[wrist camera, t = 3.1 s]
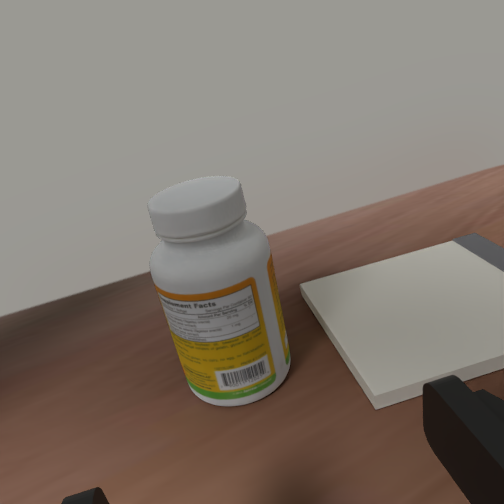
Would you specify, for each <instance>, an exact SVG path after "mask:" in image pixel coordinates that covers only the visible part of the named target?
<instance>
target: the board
mask: <svg viewBox="0 0 504 504" xmlns="http://www.w3.org/2000/svg"><path fill="white" fill-rule="evenodd" d="M300 289H301V295H302V297H303V298H304V300H305V301H306V303H307V304H308V306H309V307H310V309H311V310H312V312H313V314H314V315H315V317H316V318H317V320H318V321H319V323H320V324H321V326H322V327H323V329H324V331H325V332H326V334H327V335H328V337H329V338H330V340H331V341H332V343H333V344H334V346H335V348H336V349H337V351H338V352H339V354H340V355H341V357H342V358H343V360H344V362H345V363H346V365H347V366H348V368H349V369H350V371H351V372H352V374H353V375H354V377H355V379H356V380H357V382H358V383H359V385H360V386H361V388H362V389H363V391H364V392H365V394H366V396H367V397H368V399H369V400H370V402H371V403H372V405H373V406H374V408H375V409H376V410H377V409H380V408H383V407H386V406H389V405H392V404H395V403H398V402H402V401H405V400H408V399H411V398H414V397H417V396H420V395H423V385H424V384H425V383H428V382H431V381H434V380H437V379H440V378H443V377H446V376H449V375H455V376H457V377H458V378H460V379H461V380H462V381H466V380H469V379H472V378H475V377H478V376H481V375H484V374H488V373H491V372H494V371H497V370H500V369H503V368H504V248H502V247H500V246H498V245H496V244H495V243H493V242H491V241H489V240H487V239H485V238H484V237H482V236H480V235H478V234H476V233H473V234H469V235H466V236H462V237H459V238H455V239H453V241H449V242H446V243H442V244H439V245H435V246H432V247H428V248H425V249H421V250H418V251H414V252H411V253H407V254H404V255H400V256H397V257H393V258H390V259H386V260H383V261H379V262H376V263H372V264H369V265H365V266H361V267H358V268H354V269H351V270H347V271H344V272H340V273H337V274H333V275H330V276H326V277H323V278H319V279H316V280H312V281H309V282H305V283H302V284H300Z"/></svg>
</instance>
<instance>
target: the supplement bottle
mask: <svg viewBox="0 0 504 504" xmlns="http://www.w3.org/2000/svg"><path fill="white" fill-rule="evenodd" d="M148 211H149V214H150V218H151V221H152V224H153V228H154V231H155V233H156V235H157V237H158V238H159V239H161V240H162V241H161V242H160V243H159V244H158V245H157V246H156V248H155V249H154V251H153V253H152V255H151V258H150V272H151V275H152V279H153V282H154V285H155V288H156V291H157V294H158V297H159V300H160V302H161V305H162V308H163V311H164V314H165V317H166V320H167V323H168V326H169V329H170V332H171V335H172V338H173V341H174V344H175V347H176V350H177V353H178V356H179V359H180V362H181V365H182V368H183V371H184V374H185V377H186V379H187V382H188V384H189V386H190V388H191V390H192V391H193V393H194V394H195V395H196V396H197V397H199V398H200V399H202V400H203V401H205V402H207V403H210V404H213V405H217V406H239V405H245V404H249V403H252V402H255V401H257V400H260V399H262V398H264V397H265V396H267V395H269V394H270V393H272V392H273V391H274V390H275V389H276V388H277V387H278V386H279V385H280V384H281V383H282V382H283V380H284V379H285V377H286V375H287V373H288V371H289V367H290V360H291V357H290V350H289V344H288V339H287V334H286V329H285V324H284V319H283V314H282V309H281V304H280V298H279V293H278V288H277V282H276V277H275V271H274V266H273V261H272V255H271V250H270V247H269V243H268V239H267V237H266V235H265V233H264V232H263V230H262V229H261V228H260V227H259V226H257V225H256V224H254V223H252V222H249V221H247V220H244V218H245V217H246V213H247V212H246V203H245V200H244V196H243V191H242V188H241V184H240V181H239V180H237V179H236V178H233V177H228V176H212V177H203V178H198V179H192V180H188V181H185V182H182V183H179V184H176V185H173V186H171V187H169V188H166V189H164V190H162V191H160V192H159V193H157V194H156V195H154V196H153V197H152V198H151V199H150V200H149V202H148Z"/></svg>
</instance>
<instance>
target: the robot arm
mask: <svg viewBox="0 0 504 504" xmlns="http://www.w3.org/2000/svg"><path fill="white" fill-rule="evenodd" d="M423 427H424V432H425V435H426V438H427V440H428V443H429V445H430V447H431V448H432V450H433V452H434V453H435V455H436V456H437V457H438V459H439V460H440V461H441V463H442V464H443V466H444V467H445V468H446V470H447V471H448V473H449V474H450V475H451V477H452V478H453V480H454V481H455V482H456V484H457V485H458V486H459V488H460V489H461V491H462V492H463V493H464V495H465V496H466V498H467V499H468V500H469V502H470V503H471V504H504V401H503V400H502V399H500V398H498V397H496V396H494V395H492V394H491V393H489V392H487V391H485V390H483V389H482V390H479V391H476V392H472V391H471V390H470V389H469V388H468V387H467V386H466V384H465V383H464V382H463V381H462V380H461V379H460V378H458V377H457V376H455V375H449V376H446V377H443V378H440V379H437V380H434V381H431V382H428V383H425V384H424V385H423ZM62 504H109V502H108V500H107V498H106V497H105V495H104V493H103V491H102V489H101V488H99V487H96V488H93V489H90V490H87V491H84V492H81V493H78V494H75V495H71V496H68V497H66V498H64V499H63V501H62Z"/></svg>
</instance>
